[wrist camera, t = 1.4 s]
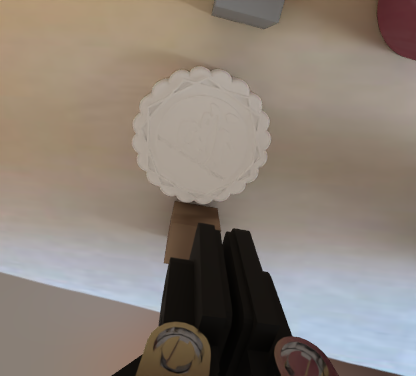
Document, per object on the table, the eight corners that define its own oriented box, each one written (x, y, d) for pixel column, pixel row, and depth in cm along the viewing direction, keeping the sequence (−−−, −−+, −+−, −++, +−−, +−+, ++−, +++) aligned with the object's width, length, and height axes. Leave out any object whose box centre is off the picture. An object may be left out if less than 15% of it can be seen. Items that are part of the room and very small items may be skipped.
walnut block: (217, 208, 31) (220, 230, 27) (207, 243, 33) (210, 269, 29) (174, 200, 30) (171, 222, 26) (167, 237, 32) (163, 263, 28)
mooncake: (290, 117, 28) (303, 125, 24) (215, 212, 31) (218, 229, 28) (182, 35, 25) (181, 31, 21) (114, 150, 28) (103, 162, 25)
